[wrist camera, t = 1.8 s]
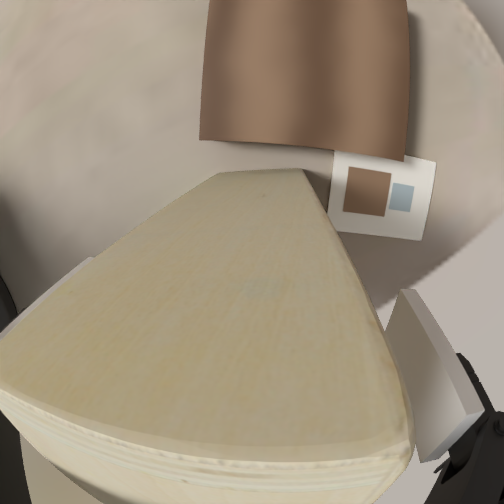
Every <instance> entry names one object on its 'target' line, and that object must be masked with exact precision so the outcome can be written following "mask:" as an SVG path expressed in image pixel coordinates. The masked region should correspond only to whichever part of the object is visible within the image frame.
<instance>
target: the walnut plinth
mask: <svg viewBox="0 0 504 504" xmlns="http://www.w3.org/2000/svg"><path fill="white" fill-rule="evenodd" d="M409 92H410V44H409V25H408V12H407V2H406V0H210V3H209V11H208V20H207V30H206V40H205V52H204V64H203V78H202V93H201V111H200V135H199V140H215V141H243V142H261V143H275V144H286V145H297V146H306V147H315V148H323V149H331V150H338V151H345V152H351V153H358V154H364V155H370V156H375V157H381V158H386V159H391V160H396V161H401V162H404V155H405V146H406V137H407V126H408V112H409Z"/></svg>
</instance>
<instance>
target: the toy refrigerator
mask: <svg viewBox="0 0 504 504" xmlns="http://www.w3.org/2000/svg"><path fill="white" fill-rule="evenodd" d="M0 410H1V411H2V413H3V414H4V415H5V416H6V417H7V418H8V420H9V421H10V422H11V423H12V424H13V425H14V426H15V428H16V429H17V430H18V431H19V432H20V433H21V434H22V435H23V436H24V437H25V438H26V439H27V440H28V441H29V442H30V443H31V444H32V445H33V446H34V447H35V448H36V449H37V450H38V451H39V452H40V453H41V454H42V455H43V456H44V457H45V458H46V459H47V460H48V461H49V462H50V463H52V464H53V465H54V466H55V467H56V468H57V469H58V470H59V471H61V472H62V473H63V474H64V475H65V476H67V477H68V478H69V479H70V480H72V481H73V482H74V483H75V484H77V485H78V486H79V487H81V488H82V489H83V490H85V491H86V492H88V493H89V494H90V495H92V496H93V497H95V498H96V499H98V500H99V501H100V502H102V503H103V504H373V503H374V502H375V501H376V500H377V499H378V498H379V497H380V496H381V495H382V494H383V493H384V492H385V491H386V490H387V489H388V488H389V487H390V486H391V485H392V484H393V483H394V482H395V481H396V480H397V478H398V477H399V476H400V475H401V474H402V473H403V472H404V471H405V469H406V468H407V466H408V464H409V462H410V460H411V458H412V456H413V452H414V448H415V444H416V429H415V418H414V412H413V409H412V405H411V402H410V398H409V395H408V392H407V389H406V386H405V383H404V380H403V377H402V374H401V371H400V368H399V365H398V363H397V360H396V357H395V355H394V352H393V350H392V348H391V345H390V343H389V340H388V338H387V336H386V333H385V331H384V329H383V327H382V325H381V322H380V320H379V318H378V315H377V313H376V311H375V308H374V306H373V304H372V302H371V300H370V297H369V295H368V293H367V291H366V289H365V287H364V285H363V283H362V281H361V279H360V277H359V274H358V272H357V270H356V268H355V266H354V264H353V262H352V260H351V258H350V256H349V254H348V252H347V250H346V248H345V246H344V244H343V242H342V241H341V239H340V237H339V235H338V233H337V231H336V229H335V228H334V226H333V224H332V222H331V220H330V218H329V217H328V215H327V213H326V211H325V209H324V208H323V206H322V204H321V202H320V200H319V198H318V197H317V195H316V193H315V191H314V189H313V187H312V185H311V184H310V182H309V180H308V179H307V177H306V175H305V173H304V172H303V170H302V169H300V168H292V169H269V170H252V171H237V172H225V173H218V174H216V175H214V176H213V177H211V178H209V179H208V180H206V181H204V182H203V183H201V184H199V185H198V186H196V187H195V188H193V189H192V190H190V191H189V192H187V193H185V194H184V195H182V196H181V197H179V198H178V199H176V200H175V201H173V202H172V203H170V204H169V205H167V206H166V207H164V208H163V209H162V210H160V211H159V212H157V213H156V214H154V215H153V216H151V217H150V218H148V219H147V220H146V221H144V222H143V223H142V224H140V225H139V226H137V227H136V228H135V229H133V230H132V231H130V232H129V233H128V234H126V235H125V236H123V237H122V238H121V239H119V240H118V241H117V242H115V243H114V244H112V245H111V246H110V247H108V248H107V249H106V250H104V251H103V252H102V253H100V254H99V255H98V256H96V257H95V258H94V259H92V260H91V261H90V262H89V263H88V264H86V265H85V266H84V267H83V268H81V269H80V270H79V271H78V272H77V273H75V274H74V275H73V276H72V277H70V278H69V279H68V280H67V281H66V282H64V283H63V284H62V285H61V286H59V287H58V288H57V289H56V290H55V291H54V292H53V293H51V294H50V295H49V296H48V297H47V298H46V299H45V300H43V301H42V302H41V303H40V304H39V305H38V306H37V307H35V308H34V309H33V310H32V311H31V312H30V313H29V314H28V315H27V316H25V317H24V318H23V319H22V320H21V321H20V322H19V323H18V324H17V325H16V326H15V327H14V328H13V329H12V330H11V331H10V332H9V333H8V334H7V335H6V336H5V337H4V338H3V339H2V340H1V341H0Z"/></svg>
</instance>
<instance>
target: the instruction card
mask: <svg viewBox="0 0 504 504" xmlns="http://www.w3.org/2000/svg"><path fill="white" fill-rule="evenodd" d="M435 169H436V162H432V161H428V160H424V159H420V158H416V157H412V156H407V155H404V162H401V161H396V160H391V159H386V158H381V157H375V156H370V155H364V154H358V153H351V152H345V151H338V150H335V151H334V161H333V170H332V179H331V187H330V196H329V203H328V211H327V215H328V217H329V218H330V220H331V222H332V224H333V226H334V228H335V229H336V231H340V232H350V233H359V234H368V235H376V236H385V237H393V238H402V239H410V240H417V241H421V240H422V236H423V232H424V227H425V223H426V219H427V214H428V209H429V204H430V199H431V194H432V188H433V182H434V176H435Z"/></svg>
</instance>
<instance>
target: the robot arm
mask: <svg viewBox="0 0 504 504" xmlns="http://www.w3.org/2000/svg"><path fill="white" fill-rule="evenodd" d="M94 258H95V257H88V258H87V259H85V260H84V261H83V262H81V263H80V264H79V265H78V266H76V267H75V268H74V269H73V270H71V271H70V272H69V273H68V274H66V275H65V276H64V277H63V278H61V279H60V280H59V281H58V282H57V283H55V284H54V285H53V286H52V287H51V288H49V289H48V290H47V291H46V292H45V293H44V294H42V295H41V296H40V297H39V298H38V299H37V300H36V301H34V302H33V303H32V304H31V305H30V306H28V307H27V308H25V309H23V310H22V311H21V312H20V313H19V314H18V315H17V312H16V309H15V306H14V303H13V301H12V298H11V296H10V294H9V292H8V290H7V288H6V286H5V284H4V282H3V281H2V279H1V277H0V341H1V340H2V339H3V338H4V337H5V336H6V335H7V334H8V333H9V332H10V331H11V330H12V329H13V328H14V327H15V326H16V325H17V324H18V323H19V322H20V321H21V320H22V319H23V318H24V317H25V316H27V315H28V314H29V313H30V312H31V311H32V310H33V309H34V308H35V307H37V306H38V305H39V304H40V303H41V302H42V301H43V300H45V299H46V298H47V297H48V296H49V295H50V294H51V293H53V292H54V291H55V290H56V289H57V288H58V287H59V286H61V285H62V284H63V283H64V282H66V281H67V280H68V279H69V278H70V277H72V276H73V275H74V274H75V273H77V272H78V271H79V270H80V269H81V268H83V267H84V266H85V265H86V264H88V263H89V262H90V261H91V260H92V259H94ZM385 333H386V336H387V338H388V340H389V343H390V345H391V348H392V350H393V352H394V355H395V357H396V360H397V363H398V365H399V368H400V371H401V374H402V377H403V380H404V383H405V386H406V389H407V392H408V395H409V398H410V402H411V405H412V409H413V412H414V418H415V429H416V447H417V451H418V455H419V459H420V463H424V462H428V461H432V460H436V459H439V458H440V457H441V456H442V455H443V454H444V453H445V452H446V451H447V450H448V451H449V455H450V457H449V458H448V459H447V460H446V461H445V462H443V463H442V464H441V465H440V466H439V467H438V468H437V469H436V470H435V471H434V473H437V472H438V471H439V470H441V469H442V470H441V472H440V474H439V477H438V479H437V481H436V483H435V485H434V487H433V488H432V490H431V492H430V494H429V496H428V498H427V500H426V501H425V503H424V504H504V412H500V411H498V412H496V411H495V410H494V408H493V406H492V404H491V402H490V400H489V398H488V396H487V394H486V392H485V390H484V388H483V386H482V384H481V382H479V378H478V377H477V375H476V374H475V373H474V370H473V368H472V366H471V364H470V362H469V361H468V360H467V359H466V358H465V357H464V356H463V355H462V354H461V353H455V352H454V350H453V348H452V346H451V345H450V343H449V341H448V340H447V338H446V336H445V335H444V333H443V331H442V330H441V328H440V327H439V325H438V323H437V322H436V320H435V319H434V317H433V316H432V314H431V312H430V311H429V310H428V308H427V307H426V305H425V303H424V302H423V300H422V299H421V297H420V296H419V295H418V293H417V292H416V290H414V289H400V291H399V294H398V297H397V300H396V303H395V306H394V309H393V312H392V315H391V318H390V320H389V323H388V325H387V328H386V331H385ZM0 504H32V503H31V499H30V495H29V490H28V486H27V481H26V476H25V471H24V465H23V459H22V452H21V444H20V435H19V431H18V430H17V429H16V428H15V426H14V425H13V424H12V423H11V422H10V421H9V420H8V418H7V417H6V416H5V415H4V414H3V413H2V411H1V410H0Z"/></svg>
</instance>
